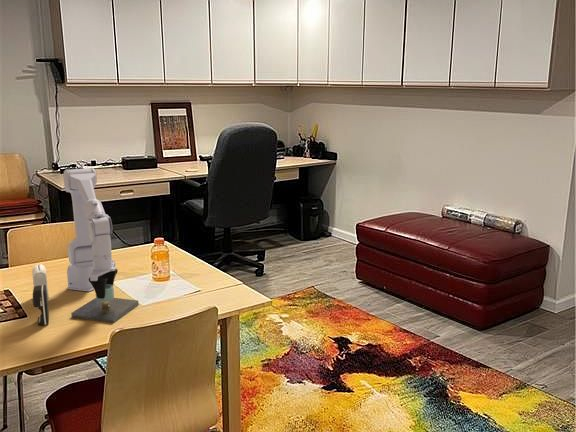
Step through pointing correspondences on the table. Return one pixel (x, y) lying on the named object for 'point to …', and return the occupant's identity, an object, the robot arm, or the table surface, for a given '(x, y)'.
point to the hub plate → (105, 310)
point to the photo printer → (40, 277)
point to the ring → (107, 294)
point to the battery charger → (41, 303)
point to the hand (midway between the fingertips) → (104, 294)
